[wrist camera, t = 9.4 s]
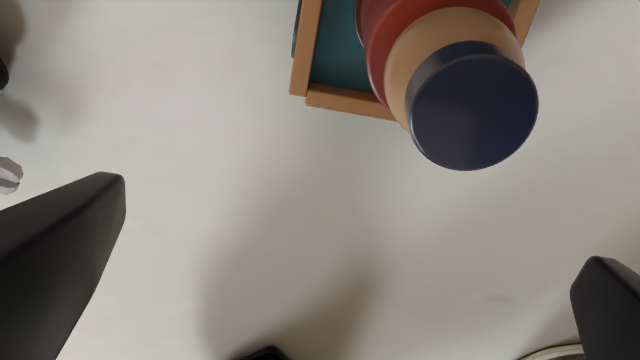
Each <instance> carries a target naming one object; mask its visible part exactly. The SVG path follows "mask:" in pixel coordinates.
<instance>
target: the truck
mask: <svg viewBox="0 0 640 360" xmlns="http://www.w3.org/2000/svg"><path fill="white" fill-rule="evenodd" d="M501 2H502V3H503V4H504V5H505V6H506V8H507V9H508V11H509V13H510V14H511V16H512V19H513V21H514V24H515V28H516V32H517V41H518V43H519V45H520V48H522V46H523V43H524V41H525V38H526V35H527V33H528V30H529V28H530V25H531V23H532V20H533V18H534V15H535V13H536V10H537V8H538V5H539V3H540V0H501ZM353 12H354V0H299V3H298V9H297V15H296V21H295V28H294V35H293V43H292V52H291V56H292V58H294V60H293V67H292V74H291V81H290V87H289V94H291V95H297V96H302V97H306V101H305V105H307V106H312V107H318V108H323V109H329V110H335V111H340V112H346V113H352V114H357V115H363V116H369V117H374V118H380V119H386V120H391V121H397V120H396V118H395V117H394V115H393V114H392V113H391V112H390V111H388V110H387V109H386V108H385V107H384V106H383V105H382V103H381V102H380V101H379V100H378V98H377V97H376V95H375V93H374V92H373V89H372V87H371V84H370V82H369V78H368V73H367V66H366V59H365V51H364V48H363V46H362V45H361V43H360V41H359V39H358V36H357V33H356V29H355V24H354V15H353ZM397 122H398V121H397Z"/></svg>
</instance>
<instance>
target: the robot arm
mask: <svg viewBox="0 0 640 360" xmlns="http://www.w3.org/2000/svg"><path fill="white" fill-rule="evenodd" d="M125 215H126V201H125V181H124V178H123V177H122V176H121V175H119V174H114V173H108V172H97V173H94V174H92V175H89V176H87V177H84V178H82V179H79V180H77V181H74V182H72V183H69V184H67V185H64V186H61V187H59V188H56V189H54V190H51V191H49V192H46V193H44V194H41V195H39V196H36V197H34V198H31V199H29V200H26V201H23V202H21V203H18V204H16V205H13V206H11V207H8V208H6V209H3V210H1V211H0V360H56V358H57V356H58V355H59V353H60V351H61V349H62V348H63V346H64V344H65V342H66V341H67V339H68V337H69V336H70V334H71V332H72V330H73V329H74V327H75V325H76V323H77V322H78V320H79V318H80V317H81V315H82V313H83V311H84V310H85V308H86V306H87V304H88V303H89V301H90V299H91V297H92V295H93V293H94V292H95V289H96V287H97V285H98V283H99V281H100V278H101V276H102V273H103V271H104V269H105V266H106V264H107V262H108V259H109V257H110V255H111V252H112V250H113V248H114V245H115V243H116V240H117V238H118V236H119V233H120V231H121V229H122V226H123V224H124V220H125ZM570 300H571V304H572V308H573V312H574V316H575V320H576V324H577V328H578V332H579V336H580V340H581V344H582V348H583V352H584V356H585V360H640V275H638V274H637V273H635V272H634V271H632V270H631V269H629V268H628V267H626V266H625V265H623V264H621V263H620V262H618V261H617V260H615V259H612V258H606V257H600V256H592V257H590V258H589V259H588V260H587V261H586V263H585V264H584V266H583V268H582V269H581V271H580V272H579V274H578V276H577V277H576V279H575V281H574V282H573V284H572V286H571V289H570ZM240 360H289V359H288V358H287V357H286V356H284V355H283V354H282V353H281V352H280V351H279V350H278V349H277V348H275V347H266V348H264V349H262V350H260V351H257V352H255V353H253V354H251V355H249V356H247V357H245V358H242V359H240Z"/></svg>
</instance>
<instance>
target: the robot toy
mask: <svg viewBox="0 0 640 360" xmlns="http://www.w3.org/2000/svg"><path fill="white" fill-rule="evenodd" d="M8 80H9V72H8V70H7V67H6V65H5V63H4V61H3V60H2V59H1V58H0V94H1V92H2V89H3V88H4V87H5V86H6V84H7V83H8ZM22 176H23V171H22V168H21V166H20V165H18V164H17V163H15V162H14V161H12V160H11V159H9V158H8V157H0V194H4V195H7V194H10V193H13V192H15V191H16V190H17V188H18V187H19V184H20V182H19V180H20V179H21V178H22Z"/></svg>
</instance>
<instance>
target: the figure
mask: <svg viewBox="0 0 640 360" xmlns="http://www.w3.org/2000/svg"><path fill="white" fill-rule="evenodd" d="M353 15H354V24H355V29H356V33H357V36H358V39H359V41H360V43H361V45H362V46H363V48H364V51H365V59H366V66H367V73H368V78H369V82H370V84H371V87H372V89H373V92H374V93H375V95H376V97H377V98H378V100H379V101H380V102H381V103H382V105H383V106H384V107H385V108H386V109H387V110H388V111H390V112H391V113H392V114H393V115H394V117H395V118H396V120H397V121H398V122H399V123H400V125H401V126H402V127H403V128H404V129H405V130H406V131H408V132H409V133H410V134H411V136H412V139H413V141H414V143H415V145H416V147H417V148H418V149H419V151H420V152H421V153H422V154H423V155H424V156H425V157H426V158H427V159H429V160H430V161H432V162H433V163H435V164H437V165H439V166H442V167H445V168H448V169H452V170H459V171H471V170H479V169H483V168H487V167H490V166H493V165H495V164H497V163H499V162H501V161H503V160H505V159H506V158H508V157H509V156H510V155H512V154H513V153H514V152H515V151H517V150H518V149H519V148H520V147H521V146H522V144H523V143H524V142H525V141H526V139H527V138H528V136H529V135H530V133H531V131H532V129H533V127H534V125H535V122H536V119H537V114H538V106H539V101H538V93H537V89H536V86H535V84H534V81H533V80H532V78H531V76H530V75H529V74H528V72H527V71H526V70H525V61H524V57H523V53H522V50H521V48H520V45H519V43H518V41H517V32H516V28H515V24H514V21H513V19H512V16H511V14H510V13H509V11H508V9H507V8H506V6H505V5H504V4H503V3H502V2H501V0H354V12H353Z"/></svg>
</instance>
